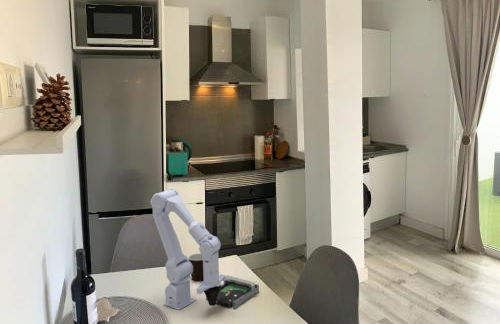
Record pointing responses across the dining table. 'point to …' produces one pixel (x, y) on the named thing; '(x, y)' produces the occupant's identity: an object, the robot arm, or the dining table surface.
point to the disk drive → (230, 295)
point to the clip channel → (240, 282)
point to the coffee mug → (197, 267)
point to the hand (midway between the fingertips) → (212, 305)
